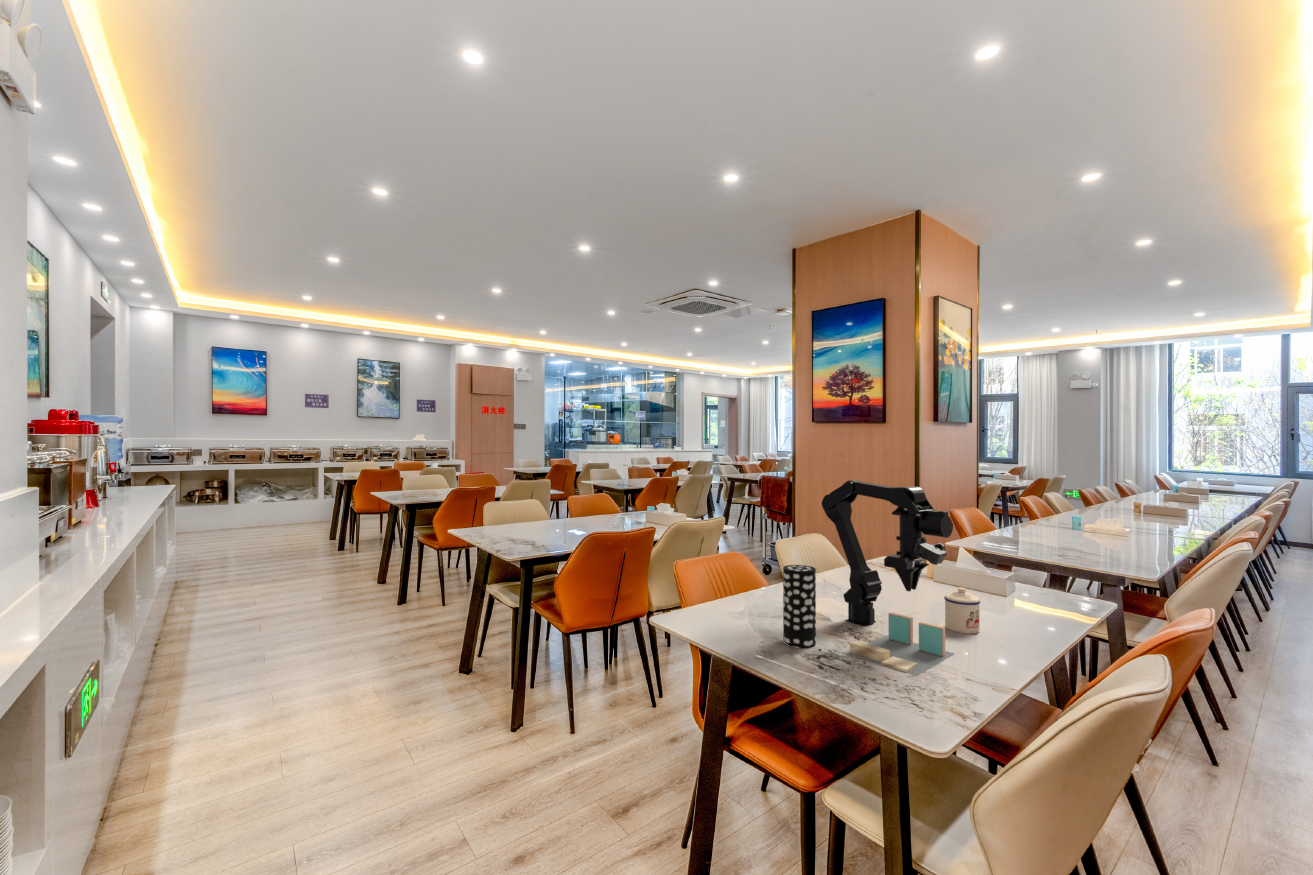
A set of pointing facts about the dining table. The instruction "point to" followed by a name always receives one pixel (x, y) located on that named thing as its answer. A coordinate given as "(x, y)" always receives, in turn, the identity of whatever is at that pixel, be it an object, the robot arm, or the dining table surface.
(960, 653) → the dining table surface
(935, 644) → the tile right
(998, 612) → the dining table surface
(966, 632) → the teacup with lid
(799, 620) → the spotted tube
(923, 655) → the mat
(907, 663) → the cream stepped block
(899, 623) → the tile left
